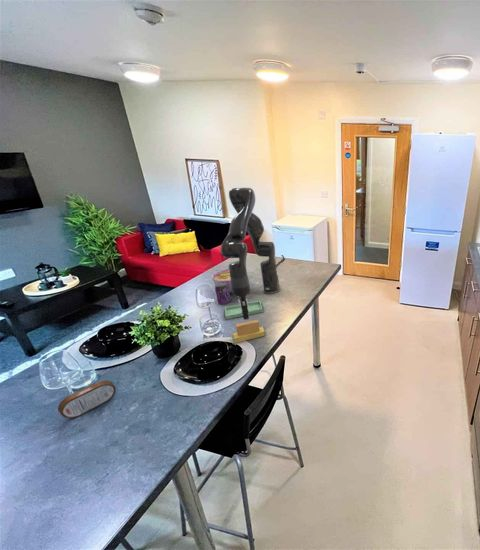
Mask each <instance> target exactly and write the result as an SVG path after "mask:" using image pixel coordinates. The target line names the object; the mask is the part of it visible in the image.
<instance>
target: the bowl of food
mask: <svg viewBox="0 0 480 550" xmlns="http://www.w3.org/2000/svg"><path fill="white" fill-rule="evenodd" d="M211 279H212V282H213V283H214V285H215V284H216V283H219V282H226V284H227V285H228V289H229V294H233V292H232V286H231V280H230V272H229V268H224V269H221V270H218V271H216V272H214V273H213V274H212V275H211Z"/></svg>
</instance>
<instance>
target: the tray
mask: <svg viewBox="0 0 480 550" xmlns="http://www.w3.org/2000/svg"><path fill="white" fill-rule="evenodd" d="M247 308H248V316H250V315H251V316H252V315H255V314H260V313H263V312H264V310H263V306H262V303H261V300H257V301H256V300H255V301H252V302H251V301H250V302H248V307H247ZM224 314H225V315H224V317H225V320H230V319H236V318H240V317H243V313H242V308H240V304H235V305H231V306H225V307H224Z"/></svg>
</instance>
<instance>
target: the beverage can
mask: <svg viewBox="0 0 480 550" xmlns="http://www.w3.org/2000/svg"><path fill="white" fill-rule="evenodd" d="M214 292H215V296H216V301H217V304H220V305H225V304H228V303H229V302H231V295H230V294H231V293H229V289H228V285H227V284H226V282H219V283H216V284H215V283H214Z"/></svg>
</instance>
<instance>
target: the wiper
mask: <svg viewBox="0 0 480 550" xmlns="http://www.w3.org/2000/svg"><path fill="white" fill-rule="evenodd" d="M235 327H236V332H233V333H232V335H233V341H234V343H235V344H236V343H241V342H245V341H249V340H255V339H257V338H261V337H265V335H266V333H265V329H264V326H260V324H259V320H258V319H255V320H250V321H249V320H248V321H243V322H240V323H236V324H235Z"/></svg>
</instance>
